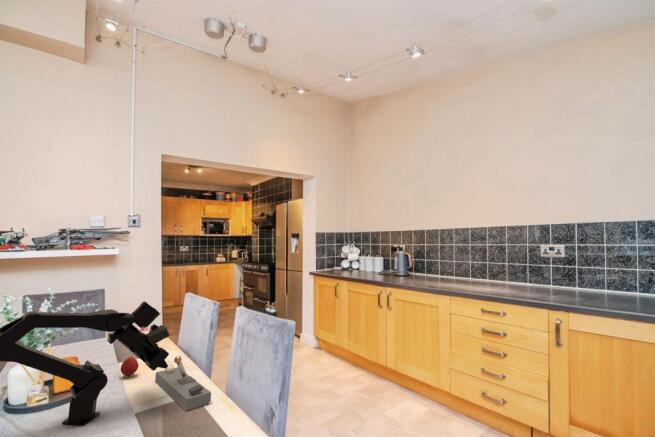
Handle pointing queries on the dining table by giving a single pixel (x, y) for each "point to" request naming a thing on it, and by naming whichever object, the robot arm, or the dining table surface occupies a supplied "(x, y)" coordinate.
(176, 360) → the toggle lever
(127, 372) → the onion
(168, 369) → the push button
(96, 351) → the dining table surface
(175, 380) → the switch panel
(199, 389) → the rocker
